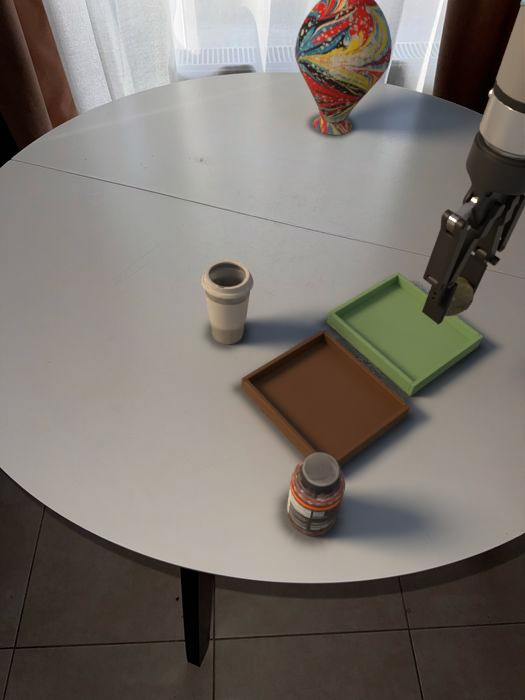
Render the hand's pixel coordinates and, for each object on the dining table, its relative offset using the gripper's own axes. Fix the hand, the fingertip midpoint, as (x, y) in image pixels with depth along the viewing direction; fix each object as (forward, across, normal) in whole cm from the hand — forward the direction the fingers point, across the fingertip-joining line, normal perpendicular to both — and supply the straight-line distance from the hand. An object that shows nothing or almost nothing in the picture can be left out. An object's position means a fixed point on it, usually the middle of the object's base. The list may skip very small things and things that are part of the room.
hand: (446, 306), depth 73 cm
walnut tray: (+13, +15, -4) cm, 21 cm away
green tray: (+13, -3, -6) cm, 15 cm away
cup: (+14, +18, -22) cm, 32 cm away
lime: (+1, 0, 0) cm, 1 cm away
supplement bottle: (+13, +27, +7) cm, 31 cm away
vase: (+14, -36, -57) cm, 69 cm away
